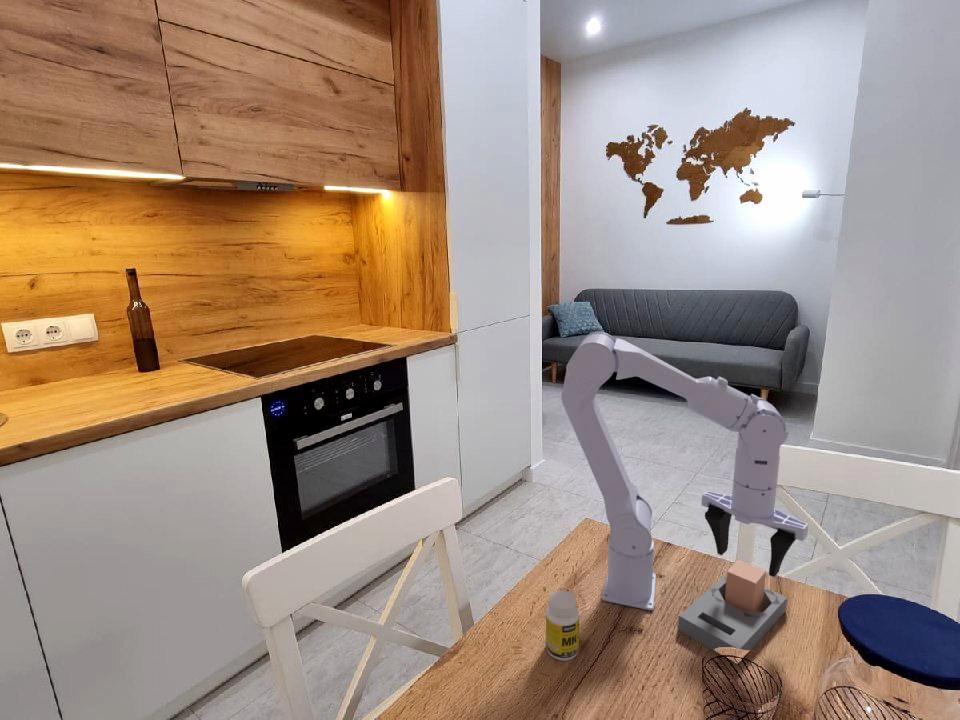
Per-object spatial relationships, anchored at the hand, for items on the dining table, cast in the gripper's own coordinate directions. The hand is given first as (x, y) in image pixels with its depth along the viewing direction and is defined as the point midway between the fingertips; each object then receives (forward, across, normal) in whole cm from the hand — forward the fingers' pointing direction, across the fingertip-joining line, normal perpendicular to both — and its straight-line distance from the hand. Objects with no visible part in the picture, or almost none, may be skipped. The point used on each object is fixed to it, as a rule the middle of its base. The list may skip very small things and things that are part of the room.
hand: (747, 562), depth 80 cm
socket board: (+8, 0, -4) cm, 9 cm away
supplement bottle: (+9, -15, -26) cm, 32 cm away
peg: (+8, 0, 0) cm, 9 cm away
